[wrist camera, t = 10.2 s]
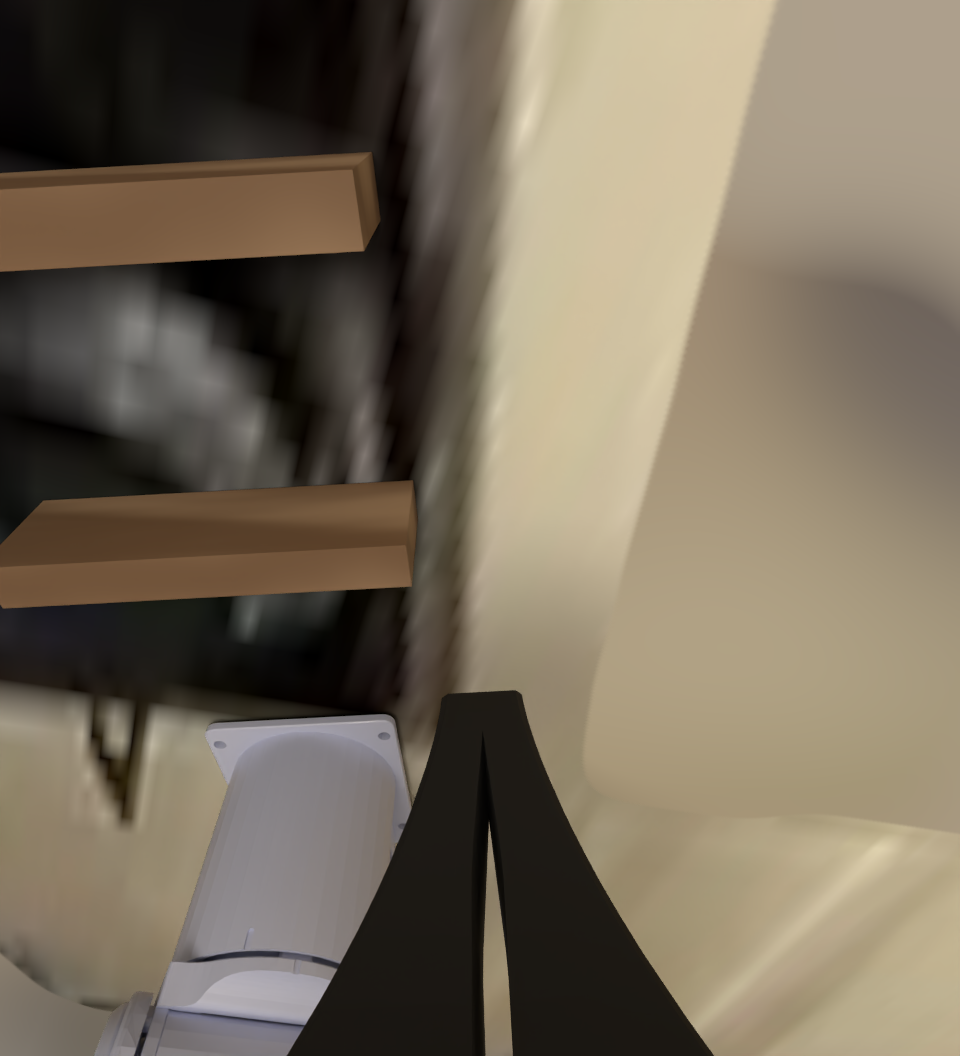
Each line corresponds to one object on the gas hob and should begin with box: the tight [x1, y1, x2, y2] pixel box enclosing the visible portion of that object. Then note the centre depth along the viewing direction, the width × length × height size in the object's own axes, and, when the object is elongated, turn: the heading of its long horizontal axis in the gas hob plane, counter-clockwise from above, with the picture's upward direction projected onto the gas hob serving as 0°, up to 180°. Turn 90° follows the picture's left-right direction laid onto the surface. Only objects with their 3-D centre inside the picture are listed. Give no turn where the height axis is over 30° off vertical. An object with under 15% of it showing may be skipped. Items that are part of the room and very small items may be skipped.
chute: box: [0, 152, 418, 608], centre depth 17 cm, size 11×12×4 cm
